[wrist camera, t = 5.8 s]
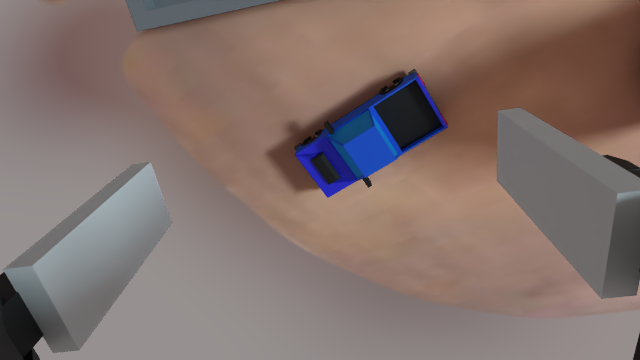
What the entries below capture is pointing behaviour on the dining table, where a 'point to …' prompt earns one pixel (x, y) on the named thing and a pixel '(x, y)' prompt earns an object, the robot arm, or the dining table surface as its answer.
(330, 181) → the toy car
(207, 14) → the tray
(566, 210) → the robot arm
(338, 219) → the dining table surface
